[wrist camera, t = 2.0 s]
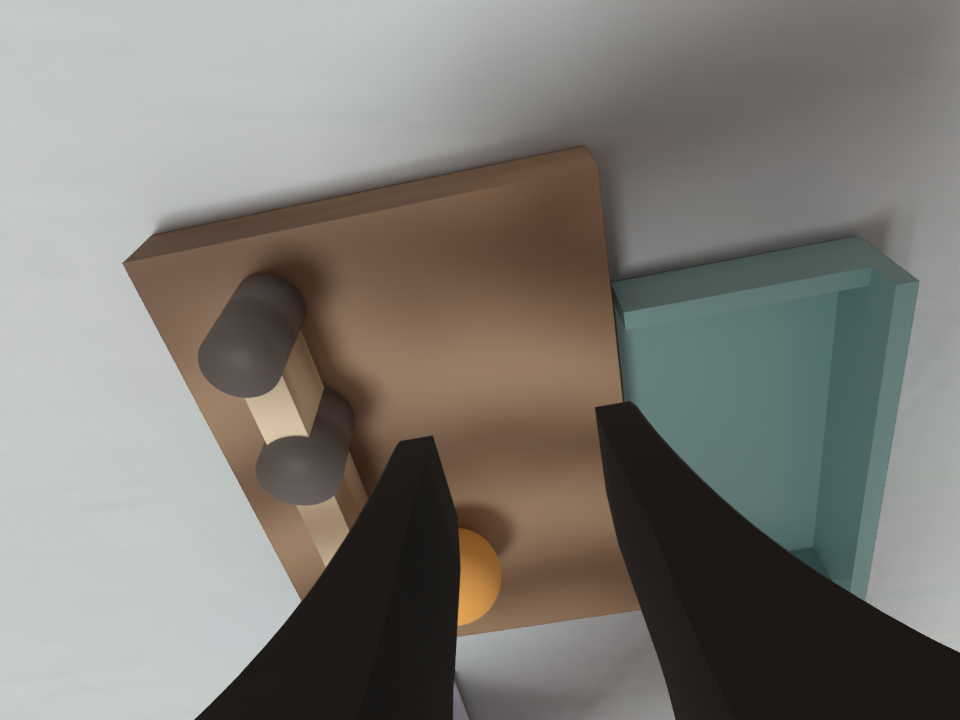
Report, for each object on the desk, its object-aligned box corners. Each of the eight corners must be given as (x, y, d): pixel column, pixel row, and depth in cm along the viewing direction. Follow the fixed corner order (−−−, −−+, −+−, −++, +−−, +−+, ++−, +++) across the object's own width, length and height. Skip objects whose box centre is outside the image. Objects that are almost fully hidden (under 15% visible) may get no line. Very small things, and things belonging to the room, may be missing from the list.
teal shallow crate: (823, 549, 28) (862, 615, 25) (641, 577, 29) (660, 644, 26) (858, 235, 20) (919, 280, 18) (610, 282, 21) (633, 333, 18)
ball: (506, 562, 25) (511, 638, 22) (422, 575, 25) (418, 652, 22) (490, 501, 23) (494, 576, 20) (401, 516, 23) (393, 591, 21)
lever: (429, 612, 26) (426, 685, 23) (370, 621, 26) (360, 694, 24) (299, 266, 18) (272, 319, 16) (215, 283, 18) (175, 338, 16)
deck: (633, 569, 28) (644, 609, 27) (338, 613, 29) (330, 655, 28) (585, 145, 19) (597, 165, 17) (151, 235, 20) (122, 263, 18)
